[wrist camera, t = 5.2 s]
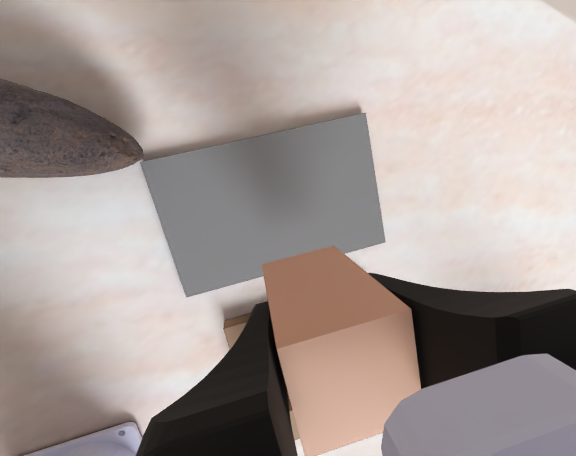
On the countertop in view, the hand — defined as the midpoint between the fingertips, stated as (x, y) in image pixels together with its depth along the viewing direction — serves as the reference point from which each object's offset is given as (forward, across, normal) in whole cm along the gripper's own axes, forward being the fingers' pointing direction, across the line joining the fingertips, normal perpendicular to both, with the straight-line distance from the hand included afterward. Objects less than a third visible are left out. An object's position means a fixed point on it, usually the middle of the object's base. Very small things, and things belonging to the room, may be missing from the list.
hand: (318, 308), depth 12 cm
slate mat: (+10, 0, -4) cm, 10 cm away
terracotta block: (+3, 0, 0) cm, 3 cm away
